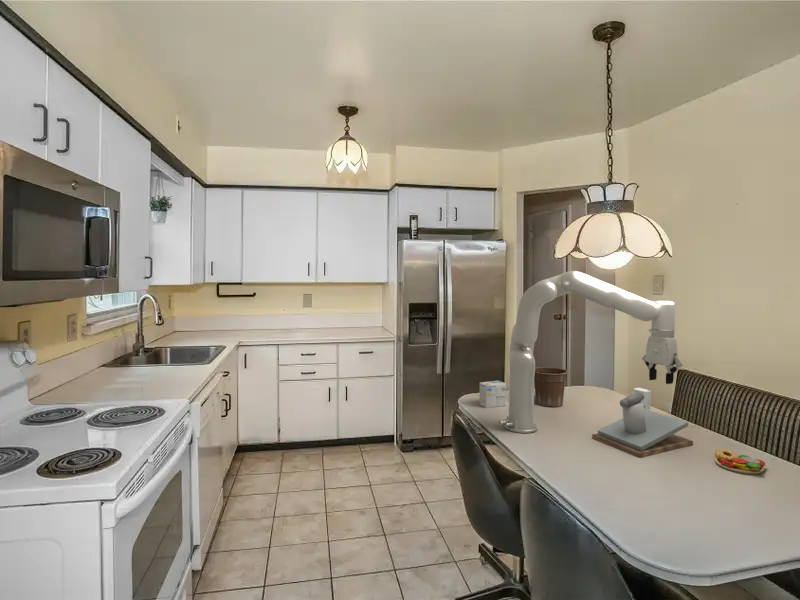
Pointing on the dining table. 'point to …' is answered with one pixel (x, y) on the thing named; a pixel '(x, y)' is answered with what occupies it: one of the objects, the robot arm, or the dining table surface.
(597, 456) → the dining table surface
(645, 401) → the skincare box
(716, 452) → the toy food set
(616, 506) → the dining table surface
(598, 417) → the dining table surface
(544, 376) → the plant pot
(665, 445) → the walnut base
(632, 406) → the tilting top
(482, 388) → the light bulb box
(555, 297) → the robot arm
